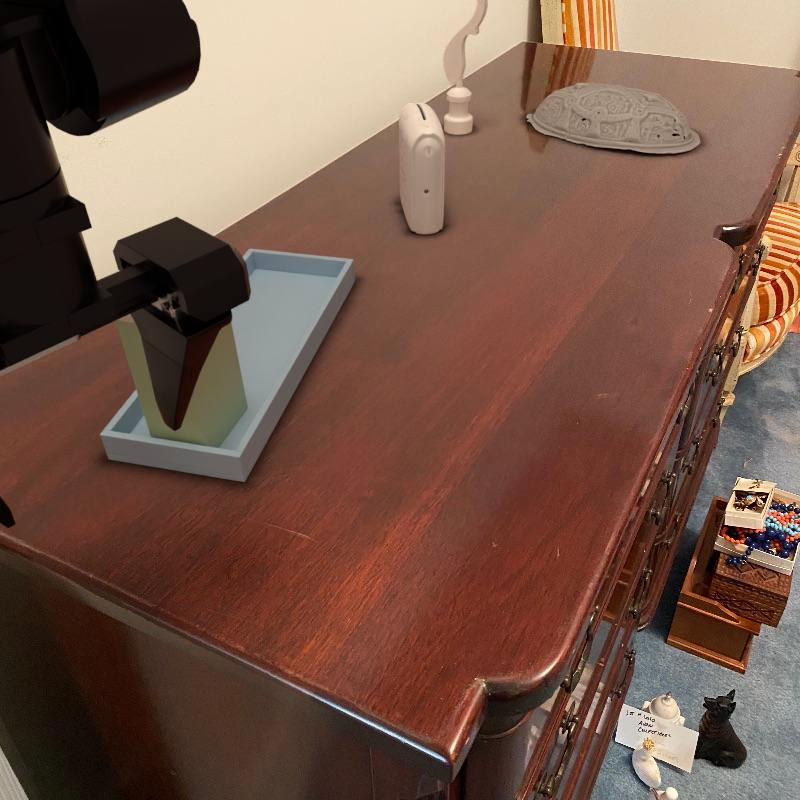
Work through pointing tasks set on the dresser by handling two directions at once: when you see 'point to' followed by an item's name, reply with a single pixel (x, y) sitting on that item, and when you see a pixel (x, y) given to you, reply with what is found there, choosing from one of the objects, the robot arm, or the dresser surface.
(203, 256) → the robot arm
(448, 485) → the dresser surface
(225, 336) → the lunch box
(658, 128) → the grey textured dome
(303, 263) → the dish tray
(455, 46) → the decorative finial
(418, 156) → the photo printer
